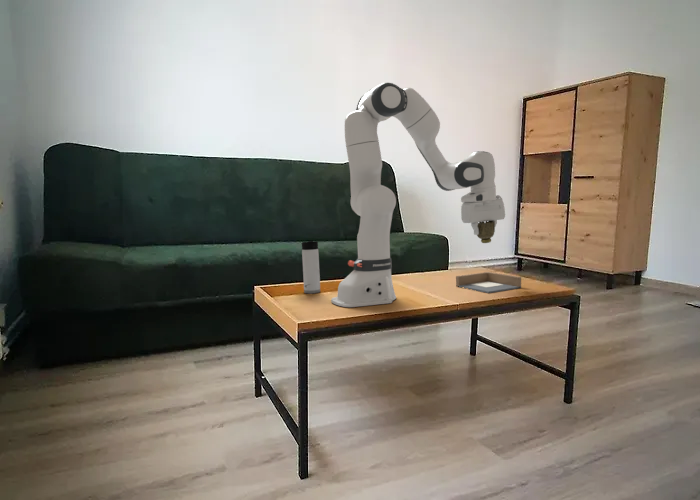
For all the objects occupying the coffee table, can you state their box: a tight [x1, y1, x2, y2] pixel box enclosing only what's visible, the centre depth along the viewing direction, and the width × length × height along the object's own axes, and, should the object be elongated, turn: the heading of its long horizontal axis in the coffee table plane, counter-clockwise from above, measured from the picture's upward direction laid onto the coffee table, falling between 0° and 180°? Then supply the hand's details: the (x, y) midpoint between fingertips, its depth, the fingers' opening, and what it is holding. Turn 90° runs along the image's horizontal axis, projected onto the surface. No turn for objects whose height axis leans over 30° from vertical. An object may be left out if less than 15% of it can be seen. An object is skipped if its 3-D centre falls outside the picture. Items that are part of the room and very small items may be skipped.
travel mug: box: [301, 240, 321, 295], centre depth 175 cm, size 6×7×20 cm
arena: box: [455, 271, 522, 294], centre depth 171 cm, size 16×17×4 cm
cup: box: [476, 220, 496, 244], centre depth 170 cm, size 8×7×8 cm
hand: (484, 233), depth 170 cm, fingers closed on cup, 7 cm apart
